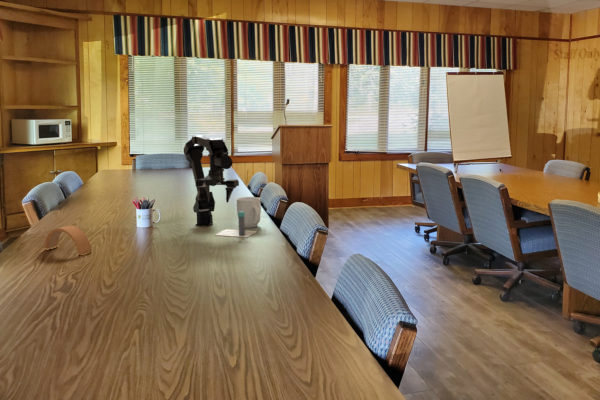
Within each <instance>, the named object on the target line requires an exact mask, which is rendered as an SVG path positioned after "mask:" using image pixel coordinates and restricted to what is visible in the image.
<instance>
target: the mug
mask: <svg viewBox="0 0 600 400" xmlns="http://www.w3.org/2000/svg"><path fill="white" fill-rule="evenodd" d="M261 202H262V201H261V197H256V196H243V197H242V196H241V197H237V198H236V212H237V214H236V215H238V212H245V228H246V229H253V228H257V226H258V225H259V223H260V221H261V211H262V207H261V204H262V203H261Z"/></svg>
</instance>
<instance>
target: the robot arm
mask: <svg viewBox="0 0 600 400" xmlns="http://www.w3.org/2000/svg"><path fill="white" fill-rule="evenodd" d="M204 150H206V151H207V152H208V154H207V157H209V169H208V174H207V175H206V176H205V174H204V169H203V164H202V158H203V157H204ZM183 155H184V156H185V160H187V162H188V163H189V164H190V166H191V171H192V174H193V179H194V183H195V188H196V191H197V192H196V195H195V202H194V204H193V207H192V210H193V213H196V223H195V224H194V225H195V226H200V227H201V226H202V227H203V226H204V227H205V226H206V227H208V226H210V225H212V224H214V219H213V214H212V212H215V207H216V206H215V205H216V201H215V198H214V194H213V192H212V191H210V188H211V187H215V186H225V191H226V192H225V194H226V195H225V202H226V203H229V200H230V199H231V196H232V193H233V191H234V189H235V188H237V187H238V186H240V182H239V180H238V179H236V178H235V179H233V178H230V179H227V180H225V179H226V178H225V177H224V172H225V170H229V169H230V168H231V167H233V162H234V161H233V160H232V156H231V157H230V156H229V149H228V147H227V144H226V142H225V140H224V139H223V138H220V137H219V138H210V137H206V136H204V135H201V134H199V135H192V137H191V138H190V140H188V141H187V142H186V143H185V144H184V147H183ZM210 186H211V187H210Z"/></svg>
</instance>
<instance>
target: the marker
mask: <svg viewBox="0 0 600 400" xmlns="http://www.w3.org/2000/svg"><path fill="white" fill-rule="evenodd" d="M237 218H238V219H237V220H238V230H239V235H240V236H243V235H245V230H246V229H245V212H238V214H237Z"/></svg>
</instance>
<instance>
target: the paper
mask: <svg viewBox="0 0 600 400" xmlns="http://www.w3.org/2000/svg"><path fill="white" fill-rule="evenodd" d="M257 232H258V231H257V230H248V229H247V230H246V229H245V235H243V236H240V235H239V229H227V228H226V229H224V230H221V231H220V232H217V233H216V234H215V237H216V236H217V237H231V238H232V237H233V238H250V237H251V236H252V235H254V234H256V233H257Z"/></svg>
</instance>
